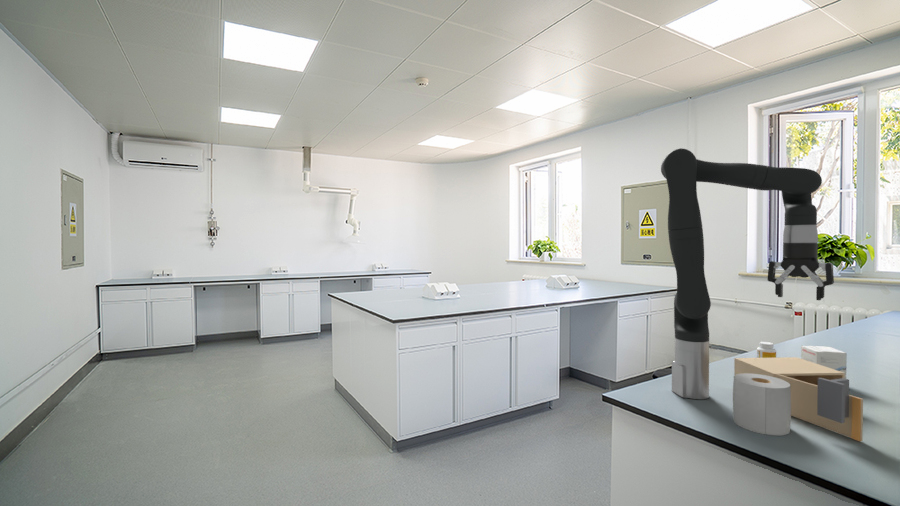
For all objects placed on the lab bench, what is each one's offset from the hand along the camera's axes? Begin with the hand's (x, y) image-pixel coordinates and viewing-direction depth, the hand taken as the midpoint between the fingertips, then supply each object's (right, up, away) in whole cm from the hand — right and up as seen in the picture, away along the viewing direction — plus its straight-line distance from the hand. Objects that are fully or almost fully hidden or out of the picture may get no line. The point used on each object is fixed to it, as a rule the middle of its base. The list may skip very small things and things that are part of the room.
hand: (799, 298), depth 119 cm
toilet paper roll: (-19, -32, -11) cm, 39 cm away
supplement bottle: (+15, -30, +33) cm, 47 cm away
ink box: (+23, -30, +19) cm, 43 cm away
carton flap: (-8, -31, -12) cm, 34 cm away
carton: (+2, -31, +7) cm, 31 cm away
